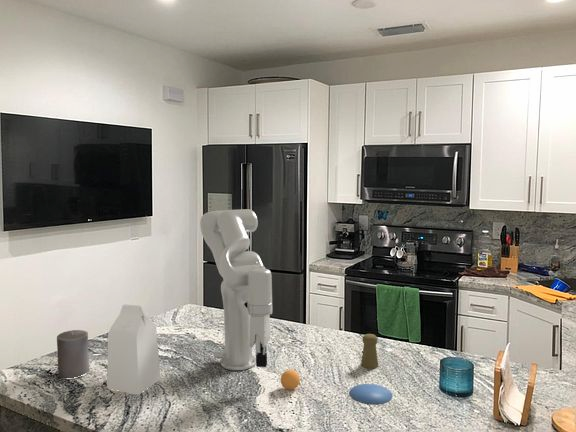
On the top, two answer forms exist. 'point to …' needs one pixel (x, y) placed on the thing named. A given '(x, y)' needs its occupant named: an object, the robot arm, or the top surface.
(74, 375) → the pillar candle
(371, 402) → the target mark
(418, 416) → the top surface
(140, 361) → the milk
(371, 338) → the olive chess pawn
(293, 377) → the ball
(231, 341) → the robot arm
